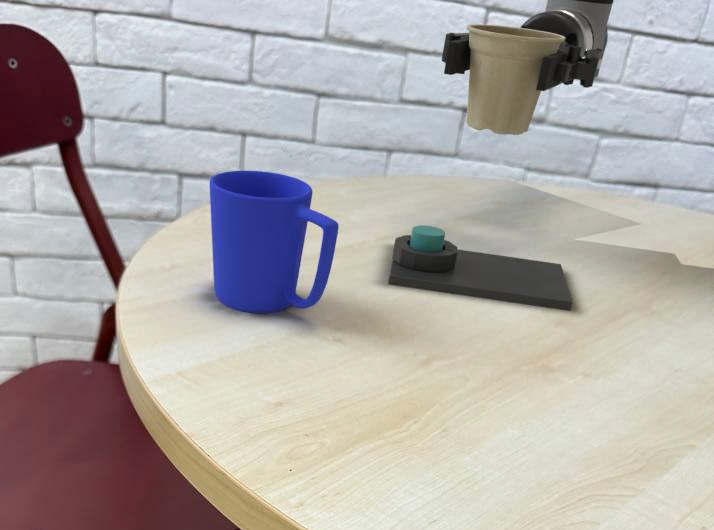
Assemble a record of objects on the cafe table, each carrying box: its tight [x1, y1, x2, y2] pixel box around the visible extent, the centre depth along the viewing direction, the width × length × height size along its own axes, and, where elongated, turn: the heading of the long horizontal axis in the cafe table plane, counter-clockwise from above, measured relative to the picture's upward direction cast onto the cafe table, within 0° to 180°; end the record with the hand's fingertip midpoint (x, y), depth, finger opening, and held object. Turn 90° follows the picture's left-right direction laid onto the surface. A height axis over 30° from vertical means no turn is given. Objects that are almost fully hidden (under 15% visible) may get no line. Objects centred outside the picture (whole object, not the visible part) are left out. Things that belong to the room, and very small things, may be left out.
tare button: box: [409, 224, 446, 252], centre depth 82 cm, size 3×3×2 cm
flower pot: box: [465, 23, 566, 136], centre depth 84 cm, size 9×9×9 cm
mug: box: [209, 170, 339, 314], centre depth 69 cm, size 8×12×10 cm
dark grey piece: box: [387, 234, 573, 311], centre depth 82 cm, size 17×11×3 cm, turn 82°
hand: (496, 66), depth 79 cm, fingers closed on flower pot, 8 cm apart
